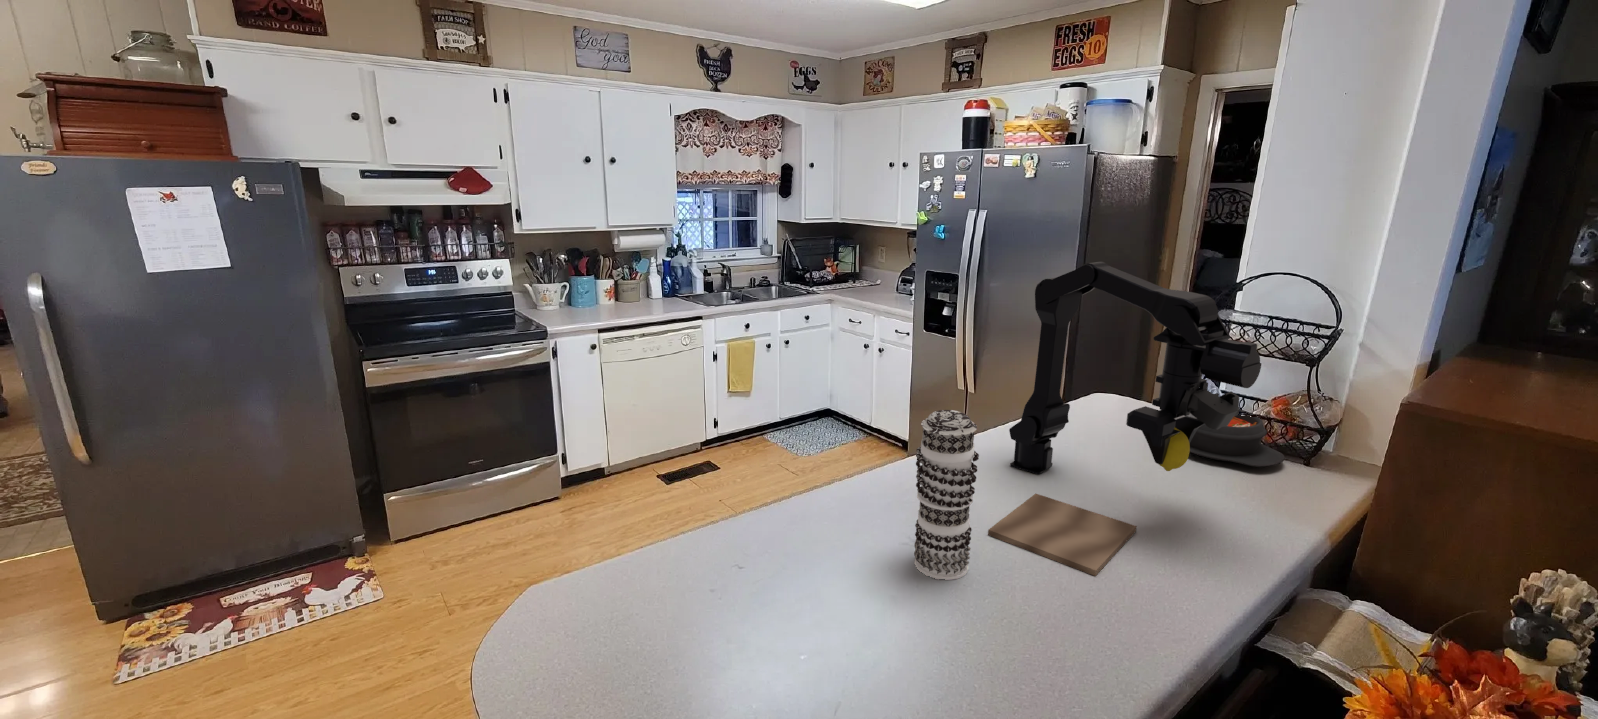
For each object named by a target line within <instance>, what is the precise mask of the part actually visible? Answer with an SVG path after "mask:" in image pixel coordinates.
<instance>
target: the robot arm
mask: <svg viewBox="0 0 1598 719" xmlns="http://www.w3.org/2000/svg"><path fill="white" fill-rule="evenodd" d="M1095 289H1096V290H1099V291H1101V292H1104V293H1106V294H1108V295H1110V296H1112V297H1115V298H1117V299H1120V300H1122V301H1124V302H1127V303H1128V304H1131V305H1133V306H1135V307H1138V308H1140V309H1141V310H1144V311H1146V312H1148V314H1150V315H1151V316H1152V317H1153V318H1154V320H1155V321H1156V322H1157V323H1159V324H1160V325H1161V326H1163V327H1165V328H1164V329H1163V331H1162V332H1161V331H1160V333H1159V334H1157V335H1155V336H1153V340H1154V342H1155V341H1156V342H1158V343H1163V344H1164V343H1165V345H1166V346H1165V350H1164V351H1165V352H1164V358H1163V365H1162V367H1163V368H1162V374H1159V375H1155V383H1159V384H1160V388H1159V394H1158V397H1156V398H1153V399H1152V403H1151V405H1152V406H1154V407H1157V408H1159V409H1157V408H1156V409H1155V408H1153V407H1149V406H1146V405H1145V406H1142V407H1139V408H1136V409H1133V410H1132V411H1130V412H1128V413H1127V415H1126V421H1125V425H1126V426H1127V427H1130V428H1133V429H1136V430H1138V431H1141V432H1142V434H1143V436H1144V438H1145V440H1146V443H1147V444H1148V445H1147V446H1148V448H1149V450H1150V452H1151V455H1152V457H1153V460H1154V462H1155V463H1156V464H1157V465H1159V464H1160V465H1161V464H1163V462H1164V459H1165V456H1166V453H1167V449H1168V446H1169V442H1170V439H1171V437H1173V436H1175V435H1176V434H1178V433H1180V431H1182V432H1183V433H1184V434H1185V435H1186V436H1187V438H1188V440H1189V444H1190V442H1191V440H1192V438H1193V436H1194V434H1195V433H1196V431H1197V429H1198V428H1199V427H1201V426H1203V425H1205V424H1206V426H1207V427H1209V428H1211V429H1213V430H1218V429H1219V428H1221V427H1224V426H1225V427H1226V426H1228V424H1229V423H1230V421H1231V420H1232V418H1233V417H1234V416H1236V415H1238V414H1239V411H1238V410H1239V409H1240V396H1239V395H1237V394H1236V393H1235V392H1233V391H1228V392H1226V393H1223V394H1222V395H1220V394H1219V393H1218V392H1217V393H1213V392H1211V391H1210V390H1208V388H1209V387H1208V386H1209V382H1208V380H1211V381H1216V382H1219V383H1224V384H1227V385H1231V386H1235V387H1239V388H1244V389H1249V388H1251V387H1252V386H1253V385H1254V384H1256V381H1257V379H1258V377H1259V376H1260V373H1261V370H1262V369H1261V368H1262V363H1261V357H1260V353H1259V352H1258V351H1257V349H1258V344H1257V343H1254V342H1249V341H1244V342H1243V341H1236V340H1233V339H1231V335H1230V333H1229V332H1228V330H1227V328H1226V326H1225V325H1224V322H1223V321H1222V319H1221V317H1220V316H1219V310H1218V309H1219V308H1218V306H1217V303H1216V300H1215V299H1213V298H1212V297H1210V296H1209V295H1206V294H1202V293H1197V292H1192V291H1185V290H1178V289H1169V288H1165V287H1163V286H1160V285H1158V284H1155V283H1153V282H1150V281H1148V280H1145V279H1143V278H1141V277H1138V276H1135V275H1133V274H1130V273H1128V272H1125V271H1123V270H1120V269H1118V268H1116V267H1113V266H1110V265H1109V264H1108V263H1106V262H1104V261H1096V262H1088V263H1084V264H1083V265H1081V266H1080V267H1078V268H1076V269H1074V270H1071V271H1068V272H1067V273H1064V274H1061V275H1059V276H1057V277H1050V278H1044V279H1042V280H1041V281H1040V282H1039V283H1037V284H1036V287H1035V288H1034V309H1035V312H1036V314H1037V316H1038V318H1039V321H1040V332H1039V341H1038V342H1039V343H1038V350H1037V358H1036V370H1035V377H1034V387H1033V391H1032V394H1031V395H1030V397H1029V399H1028V400H1027V401H1026V403H1025V405H1024V408H1023V411H1022V415H1021V419H1020V421H1018V422H1017V423H1016V424H1014V425H1013V426H1011V427H1010V428H1009V430H1008V431H1009V435H1010V439H1011V440H1013V441H1014V442H1015V444H1014V457H1013V461H1011V462H1010V463H1009V466H1010V467H1013V468H1016V469H1019V470H1023V471H1025V472H1029V473H1033V474H1035V475H1042V473H1044V472H1046V471H1047V470H1049V469H1050V468H1051V467H1052V466H1053V462H1052V461H1053V453H1054V452H1053V450H1054V448H1053V447H1052V439H1055V438H1057V436H1058V434H1059V433H1060V431H1062V430H1064V429H1065V426H1066V424H1068V423H1069V422H1070V421H1069V412H1070V408H1071V405H1070V403H1067V402H1064V400H1063V398H1062V396H1061V387H1062V380H1063V372H1064V371H1063V369H1064V361H1065V356H1066V355H1065V353H1066V346H1067V339H1068V330H1069V324H1070V322H1071V321H1072V319H1073V318H1074V315H1075V314H1076V313H1077V311H1078V310H1079V306H1080V303H1081V300H1082V296H1083V295H1087V293H1090V292H1092V291H1093V290H1095ZM1204 330H1206V332H1201V331H1204ZM1203 376H1205V378H1206V379H1205V378H1203ZM1175 427H1176V428H1177V429H1178V430H1180V431H1177V430H1174V428H1175ZM1160 465H1159V466H1160Z"/></svg>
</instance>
